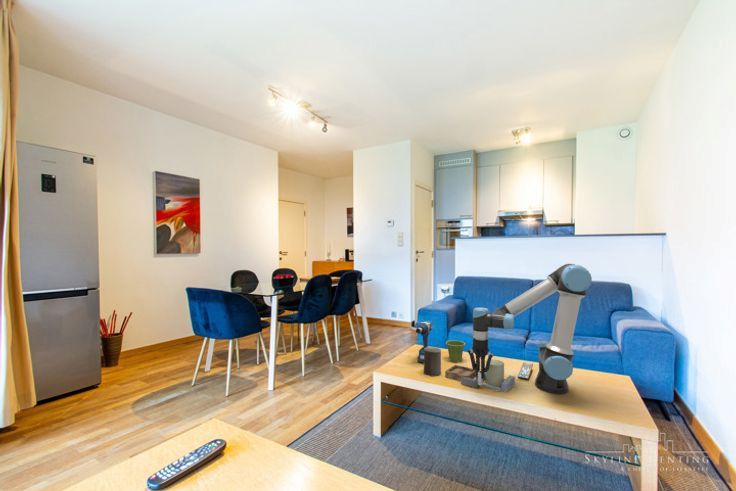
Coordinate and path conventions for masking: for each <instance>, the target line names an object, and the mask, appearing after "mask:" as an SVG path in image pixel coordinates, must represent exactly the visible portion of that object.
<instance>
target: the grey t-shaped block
mask: <svg viewBox="0 0 736 491" xmlns="http://www.w3.org/2000/svg"><path fill="white" fill-rule="evenodd" d="M460 383H461V385H464V386H468V387H472V388H474V389H479V388H480V387H481V386H480V385H478V378H477V379H475V378H474V379H472V378H468V377H464V376H463V377H462V378H461V381H460Z"/></svg>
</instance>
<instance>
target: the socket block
mask: <svg viewBox="0 0 736 491" xmlns="http://www.w3.org/2000/svg"><path fill="white" fill-rule="evenodd" d="M515 378H516V377H515V375H514V376H513V375H509V376H507V377H506V378H504V381H503V382H502V387H501V388H500V387H496V386H492V385H489V384H486V372H485V378H484V379H483V384H482V385H481V386H482V388H485V387H486V389H490V390H492V389H493V391H496V390H497V392H504V393H508V392H509V391H510V390H509V389H512V388H513V387H514V386H515V381H516V380H515ZM474 379H477V377H476V376H475V378H474ZM484 381H485V383H484ZM481 386H480V387H481ZM508 390H509V391H508Z"/></svg>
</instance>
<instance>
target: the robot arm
mask: <svg viewBox="0 0 736 491" xmlns="http://www.w3.org/2000/svg"><path fill="white" fill-rule="evenodd" d="M592 281H593V280H592V274H591V272H590V271H589V270H588V269H587V268H586V267H584V266H582V265H580V264H576V263H575V264H574V263H566V264H564V265H561V266H560V267H558V268H557V269H556V270H554V271H553V272H551V273H550V274H548V275H547V278H545V279H544V280H542V281H541V282H540V283H538V284H536V285H534V286H533V287H531V288H530V289H528V290H526V291H524V292H523V293H522V294H520V295H518V296H517V297H515V298H513V299H512V300H510V301H508V302H507V303H506V304H504V305H502V306H500V307H497V308H496V309H494V311H493V312H490V311H489V308H488V307H487V308H486V307H474V308H473V310H472V337H473V338H472V347H471V348H469V349H468V350H467V353H468V355H469V359H470V363H471V367H472V369H473V370H476V377H477V378H478V385H480V387H481V385H482V384H483V383H484V382H483V379H484V378H485V372H487V371H488V370H489V366H490V363H491V360H493V357H494V356H495V354H494V353H491V352H490V349H489V328H492V329H500V330H501V329H502V330H513V329H514V328H515V317H516V316H517V315H520V314H521V313H522V312H525V311H526V310H528V309H529V308H531V307H533V306H534V305H536V304H538V303H540V302H541V301H543V300H545V299H546V298H548V297H550V296H551V295H552V294H555V293H556V292H558V294H559V298H558V301H557V302H558V303H557V307H556V308H557V309H556V312H555V313H556V314H555V319H554V323H553V328H552V331H551V337H550V341H539V343H538V372H537V375H536V377H535V381H534V386H535V387H536V388H537V389H539V390H541V391H543V392H546V393H550V394H558V395H559V394H560V395H562V394H566V393H568V392H569V390H570V389H569V383H568V381H567V379H568V378H570V377H571V376H573V373H574V367H573V364H572V363H573V357H574V353H575V352H574V351H573V349H572V343H573V339H574V334H575V329H576V325H577V319H578V314H579V310H580V305H581V300H582V299H583V298H585V297H586V296H587V291H588V289H589V287H590V286H591V284H592ZM486 357H487V360H486ZM486 361H487V363H486Z"/></svg>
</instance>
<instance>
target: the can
mask: <svg viewBox="0 0 736 491" xmlns="http://www.w3.org/2000/svg"><path fill="white" fill-rule="evenodd" d="M486 363H487V360H485V364H486ZM504 379H505V362H504V361H502V360H499V359H491V363H490V366H489V370H488V371H487V372H486V381H485V384H489V385H492V386H496V387H501V388H502V382H503V381H504Z"/></svg>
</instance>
